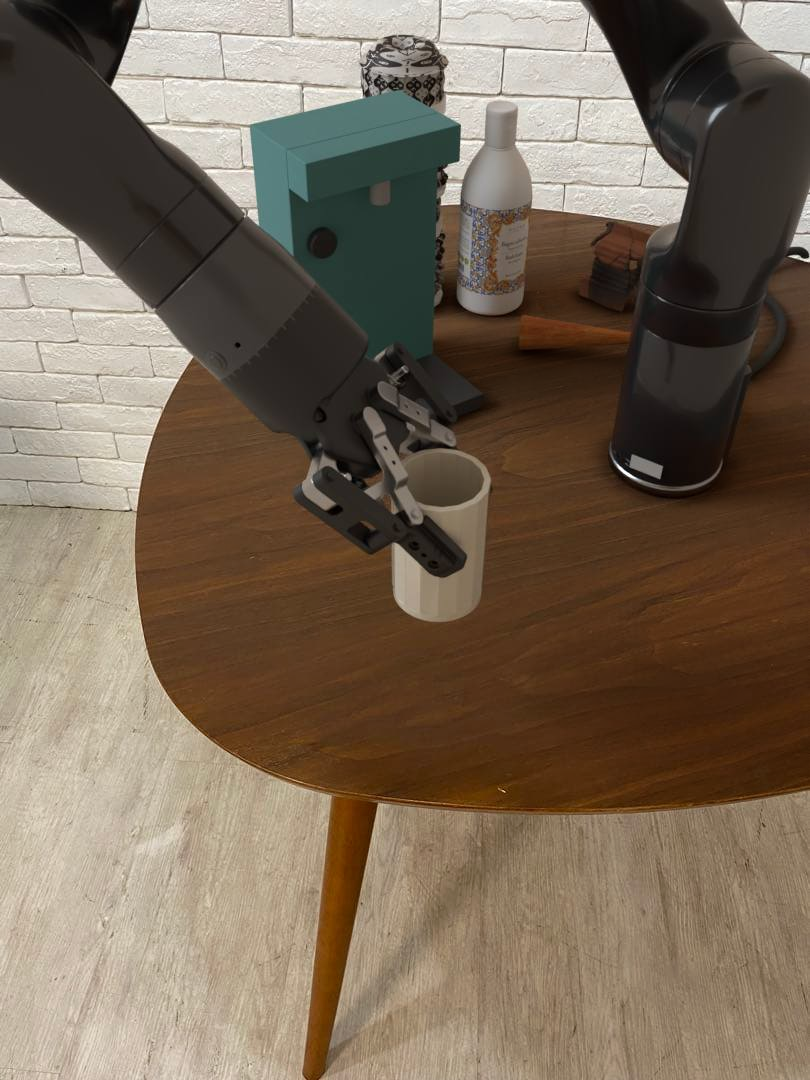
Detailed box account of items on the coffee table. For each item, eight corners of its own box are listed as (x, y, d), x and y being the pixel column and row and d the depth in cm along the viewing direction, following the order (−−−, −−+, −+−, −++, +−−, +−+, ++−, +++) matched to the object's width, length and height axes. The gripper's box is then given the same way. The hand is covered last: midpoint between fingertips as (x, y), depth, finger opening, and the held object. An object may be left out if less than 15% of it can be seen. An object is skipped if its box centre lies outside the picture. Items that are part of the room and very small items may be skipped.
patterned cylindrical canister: (343, 306, 108) (334, 52, 92) (379, 266, 115) (377, 22, 98) (425, 324, 106) (431, 66, 89) (458, 283, 112) (469, 34, 95)
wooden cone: (526, 292, 103) (738, 302, 98) (524, 350, 106) (730, 362, 102) (518, 312, 98) (741, 323, 94) (516, 373, 101) (732, 385, 97)
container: (448, 547, 69) (452, 437, 62) (500, 598, 65) (510, 487, 59) (375, 580, 66) (373, 469, 60) (425, 635, 63) (428, 524, 57)
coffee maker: (398, 338, 104) (398, 89, 88) (482, 407, 95) (500, 145, 79) (273, 381, 98) (248, 124, 82) (351, 459, 90) (340, 188, 73)
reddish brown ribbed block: (555, 287, 112) (584, 211, 110) (621, 310, 117) (650, 237, 115) (620, 313, 103) (653, 230, 100) (689, 336, 107) (722, 257, 105)
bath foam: (482, 324, 106) (494, 125, 92) (443, 295, 110) (449, 101, 97) (536, 305, 109) (555, 109, 95) (495, 278, 113) (509, 87, 99)
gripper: (251, 362, 49) (487, 595, 54) (350, 227, 59) (541, 434, 65) (164, 434, 53) (390, 641, 59) (270, 297, 64) (454, 485, 69)
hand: (468, 532), depth 62 cm, fingers closed on container, 5 cm apart
